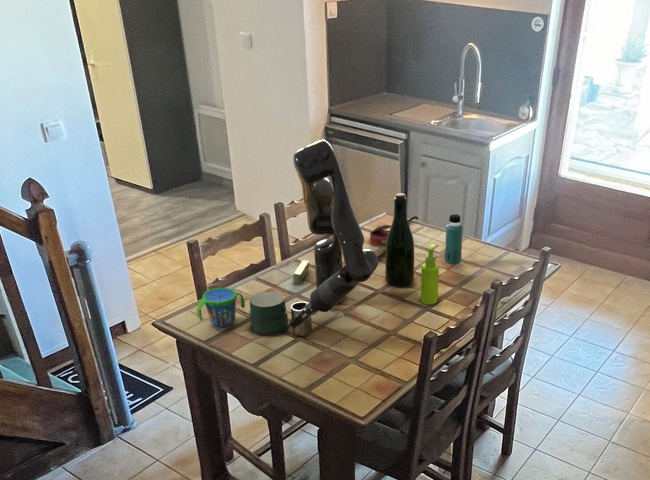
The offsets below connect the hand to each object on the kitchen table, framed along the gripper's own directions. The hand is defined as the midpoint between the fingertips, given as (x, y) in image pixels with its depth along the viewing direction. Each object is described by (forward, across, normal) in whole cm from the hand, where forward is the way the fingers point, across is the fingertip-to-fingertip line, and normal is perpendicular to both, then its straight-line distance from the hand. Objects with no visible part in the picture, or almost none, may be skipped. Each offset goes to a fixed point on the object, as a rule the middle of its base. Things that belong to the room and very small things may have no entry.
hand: (297, 321), depth 216 cm
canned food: (+7, -79, -1) cm, 79 cm away
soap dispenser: (-18, -38, +25) cm, 49 cm away
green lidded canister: (+10, 0, -4) cm, 11 cm away
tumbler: (+1, 0, +4) cm, 4 cm away
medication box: (+16, -36, -10) cm, 41 cm away
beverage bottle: (-17, -69, +23) cm, 75 cm away
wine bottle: (-8, -47, +14) cm, 50 cm away
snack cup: (+21, +4, -15) cm, 26 cm away
